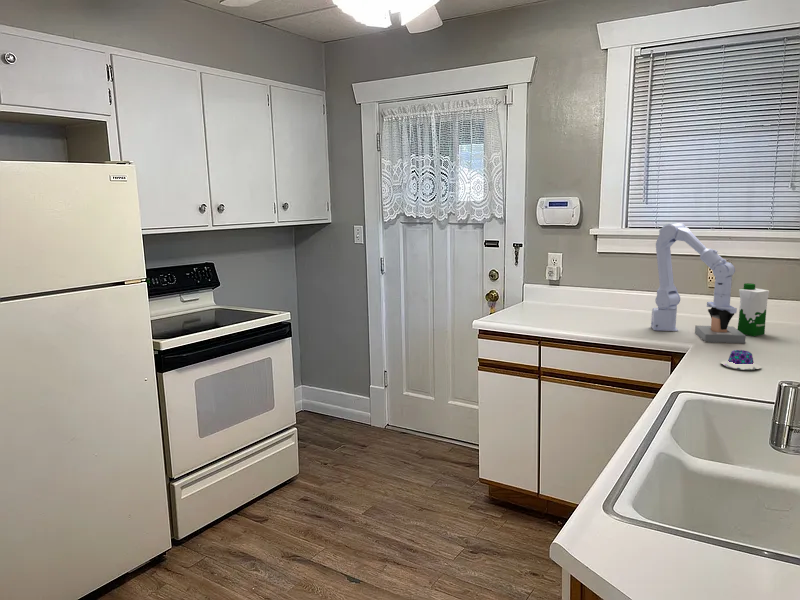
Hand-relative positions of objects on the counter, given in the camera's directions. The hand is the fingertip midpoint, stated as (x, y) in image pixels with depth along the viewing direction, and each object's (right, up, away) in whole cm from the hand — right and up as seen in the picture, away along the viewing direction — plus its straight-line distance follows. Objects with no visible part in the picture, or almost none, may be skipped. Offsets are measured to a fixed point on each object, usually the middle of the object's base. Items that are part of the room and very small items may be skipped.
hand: (719, 328), depth 238 cm
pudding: (-13, -11, -38) cm, 41 cm away
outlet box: (0, -4, +1) cm, 4 cm away
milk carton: (+16, -3, +6) cm, 17 cm away
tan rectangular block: (0, -2, 0) cm, 2 cm away
